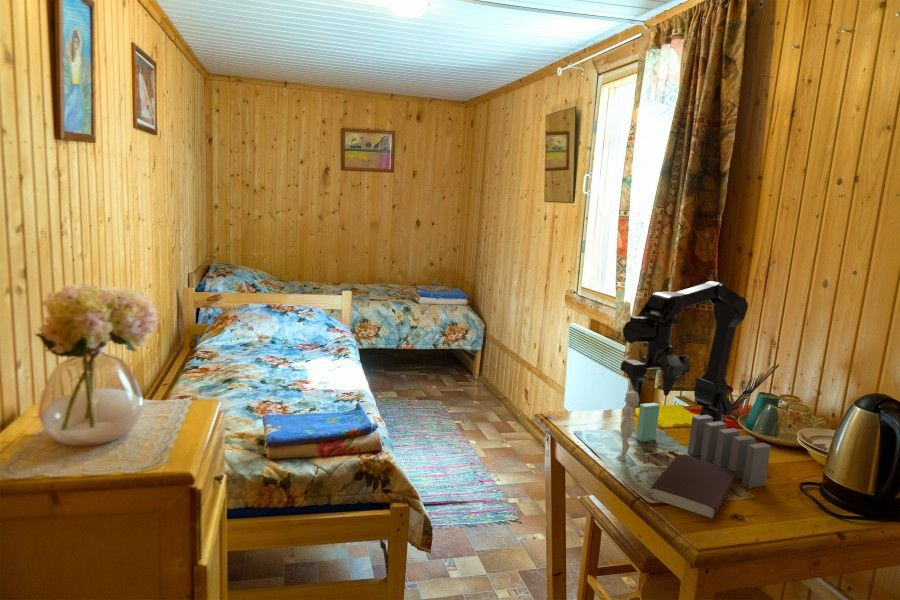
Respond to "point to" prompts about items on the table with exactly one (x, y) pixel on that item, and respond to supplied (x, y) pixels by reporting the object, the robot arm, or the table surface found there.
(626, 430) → the human figurine
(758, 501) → the table surface
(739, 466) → the domino
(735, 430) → the domino
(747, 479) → the domino
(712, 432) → the domino
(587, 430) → the table surface
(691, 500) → the book
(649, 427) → the domino head
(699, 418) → the domino
